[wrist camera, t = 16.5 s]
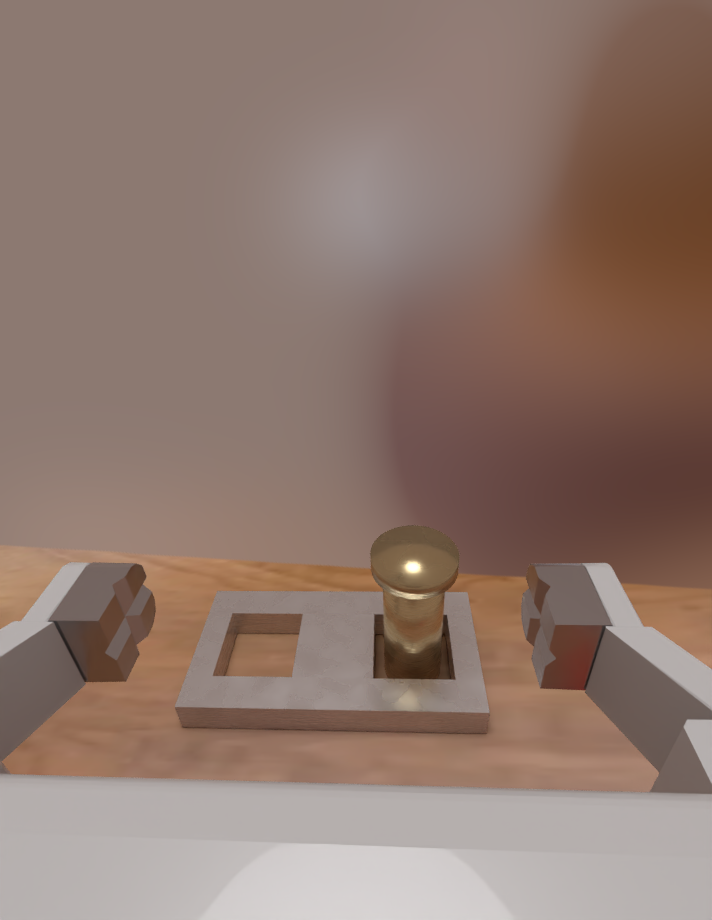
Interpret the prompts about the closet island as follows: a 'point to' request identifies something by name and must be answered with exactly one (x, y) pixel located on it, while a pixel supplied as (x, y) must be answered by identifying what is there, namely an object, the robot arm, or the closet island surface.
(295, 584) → the closet island surface
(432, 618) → the brass capped peg
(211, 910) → the robot arm
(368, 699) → the plate
